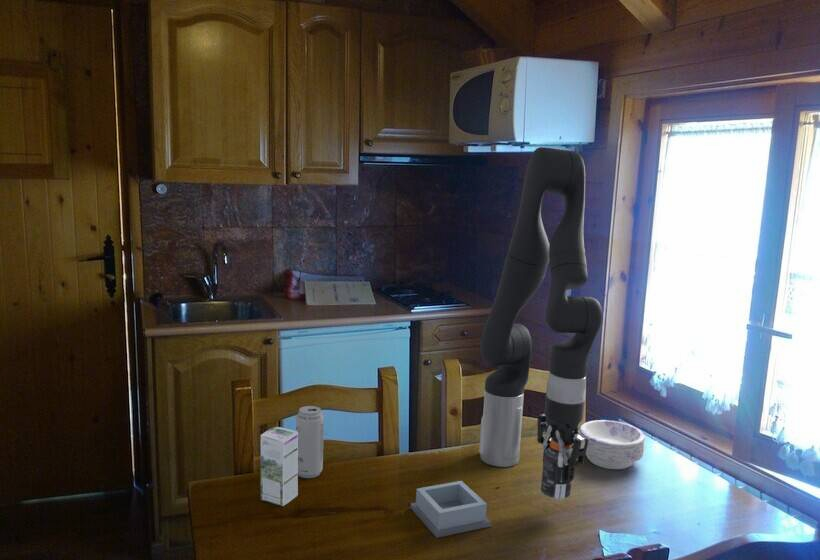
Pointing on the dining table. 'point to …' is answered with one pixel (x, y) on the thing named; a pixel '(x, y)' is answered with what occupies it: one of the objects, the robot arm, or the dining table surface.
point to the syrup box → (279, 465)
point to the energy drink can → (310, 441)
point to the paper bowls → (612, 443)
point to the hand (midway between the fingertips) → (557, 473)
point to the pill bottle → (554, 473)
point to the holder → (450, 509)
